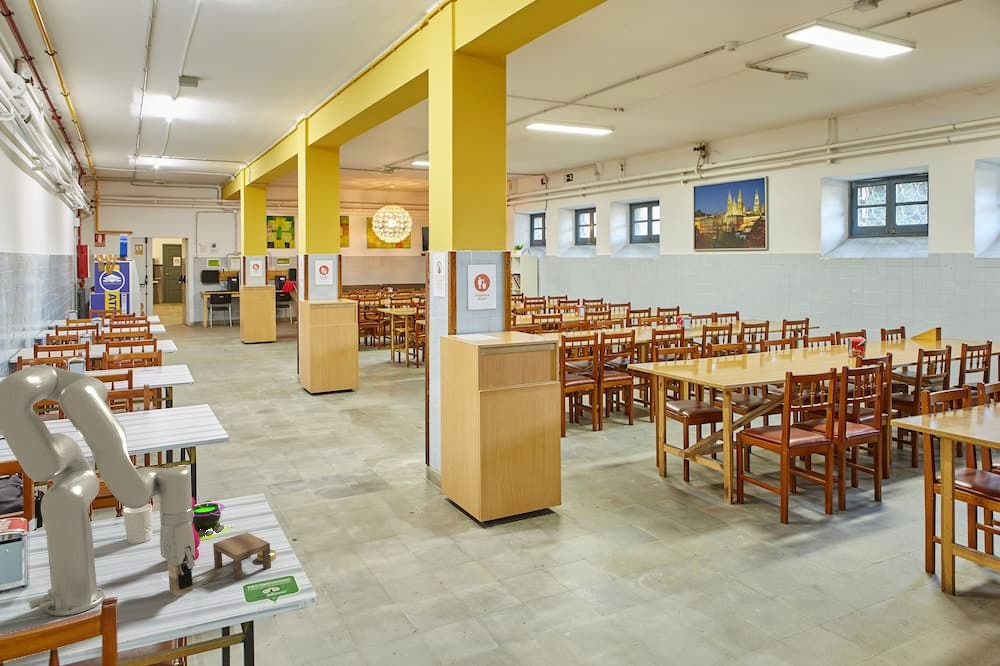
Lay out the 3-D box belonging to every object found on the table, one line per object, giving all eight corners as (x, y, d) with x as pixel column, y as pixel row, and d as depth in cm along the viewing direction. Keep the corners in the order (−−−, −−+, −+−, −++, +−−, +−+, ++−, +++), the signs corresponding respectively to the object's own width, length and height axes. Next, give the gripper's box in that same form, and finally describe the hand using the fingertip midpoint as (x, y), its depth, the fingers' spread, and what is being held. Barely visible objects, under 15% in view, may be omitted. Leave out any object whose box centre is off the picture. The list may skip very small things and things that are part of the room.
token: (263, 564, 194) (262, 558, 194) (254, 559, 198) (253, 553, 198) (279, 559, 198) (279, 553, 198) (270, 554, 201) (270, 548, 201)
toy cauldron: (240, 530, 218) (238, 496, 217) (192, 545, 208) (190, 509, 206) (219, 518, 229) (217, 485, 227) (172, 531, 218) (170, 497, 217)
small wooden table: (237, 580, 185) (235, 555, 184) (214, 567, 192) (213, 543, 192) (270, 567, 192) (269, 543, 191) (247, 555, 200) (246, 532, 199)
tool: (177, 596, 177) (174, 562, 176) (169, 591, 179) (167, 558, 178) (239, 572, 190) (237, 540, 188) (231, 568, 192) (230, 536, 191)
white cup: (159, 537, 213) (157, 506, 212) (134, 547, 206) (132, 514, 205) (145, 532, 217) (142, 501, 216) (120, 541, 211) (117, 509, 209)
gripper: (147, 512, 180) (151, 579, 182) (177, 529, 169) (181, 600, 171) (176, 504, 185) (180, 569, 188) (207, 519, 175) (211, 589, 177)
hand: (181, 583), depth 179 cm, fingers open, 4 cm apart
